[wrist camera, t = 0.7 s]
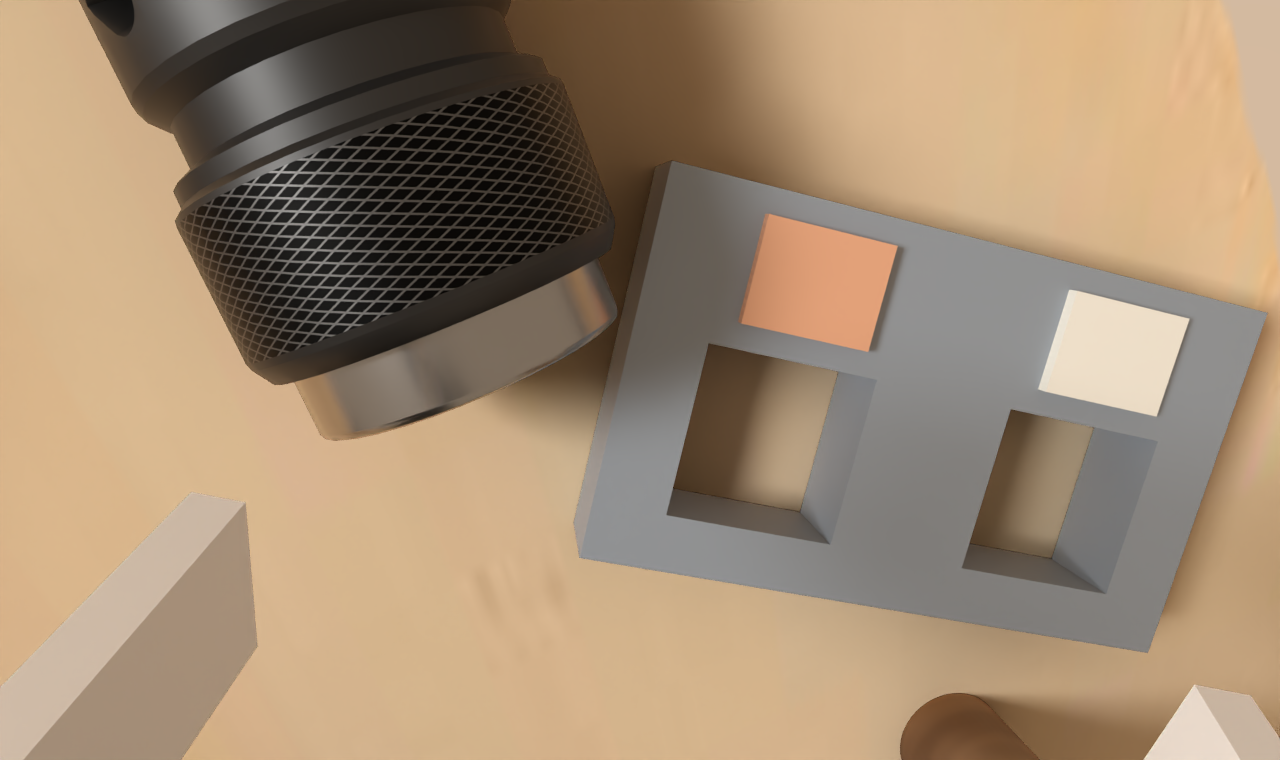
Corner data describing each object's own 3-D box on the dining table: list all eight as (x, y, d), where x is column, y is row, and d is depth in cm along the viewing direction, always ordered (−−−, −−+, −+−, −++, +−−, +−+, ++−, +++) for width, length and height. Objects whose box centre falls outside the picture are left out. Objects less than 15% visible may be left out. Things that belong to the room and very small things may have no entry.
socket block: (1090, 613, 32) (1156, 659, 29) (573, 522, 28) (580, 562, 25) (1195, 303, 30) (1278, 314, 27) (655, 166, 27) (674, 159, 23)
